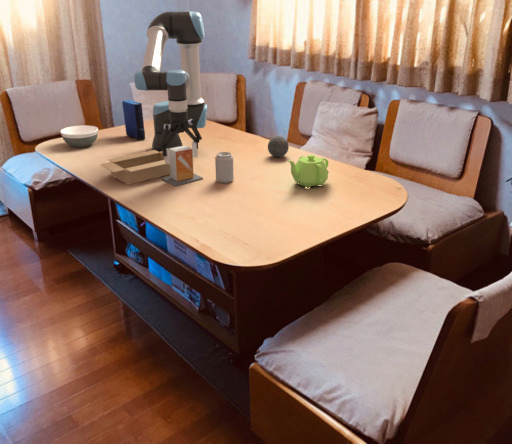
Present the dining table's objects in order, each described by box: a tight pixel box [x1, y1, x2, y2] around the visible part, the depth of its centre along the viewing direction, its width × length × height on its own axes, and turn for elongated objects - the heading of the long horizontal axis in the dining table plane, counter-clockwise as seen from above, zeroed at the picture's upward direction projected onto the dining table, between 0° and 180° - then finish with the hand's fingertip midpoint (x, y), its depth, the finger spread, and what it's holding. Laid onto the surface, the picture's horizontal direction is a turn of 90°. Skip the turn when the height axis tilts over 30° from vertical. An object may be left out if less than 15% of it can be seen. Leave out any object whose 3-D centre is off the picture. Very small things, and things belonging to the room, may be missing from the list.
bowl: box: [59, 125, 99, 149], centre depth 273 cm, size 19×19×8 cm
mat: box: [160, 172, 204, 187], centre depth 228 cm, size 14×11×1 cm
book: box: [121, 99, 146, 141], centre depth 284 cm, size 14×5×20 cm, turn 42°
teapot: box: [287, 154, 329, 188], centre depth 219 cm, size 16×14×13 cm
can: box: [214, 151, 235, 184], centre depth 224 cm, size 8×8×12 cm
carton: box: [99, 149, 171, 185], centre depth 233 cm, size 34×21×6 cm, turn 129°
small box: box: [169, 145, 194, 181], centre depth 225 cm, size 8×6×13 cm
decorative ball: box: [267, 135, 289, 158], centre depth 255 cm, size 10×10×10 cm
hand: (181, 160), depth 225 cm, fingers open, 13 cm apart
